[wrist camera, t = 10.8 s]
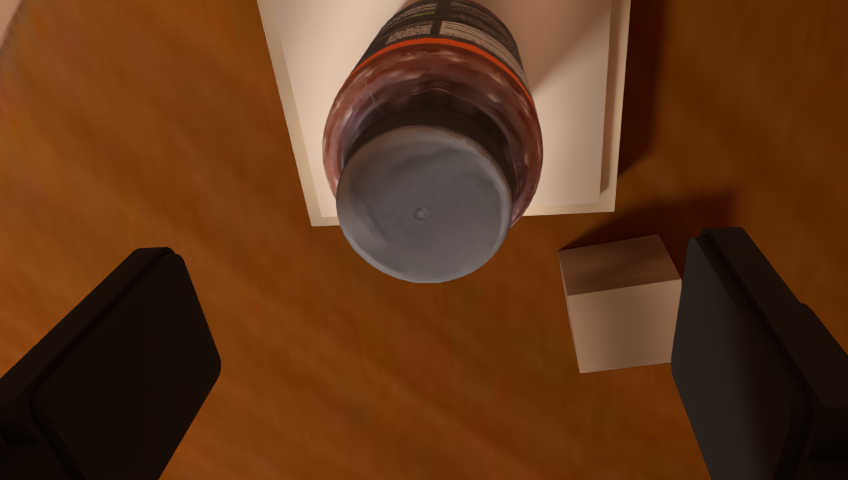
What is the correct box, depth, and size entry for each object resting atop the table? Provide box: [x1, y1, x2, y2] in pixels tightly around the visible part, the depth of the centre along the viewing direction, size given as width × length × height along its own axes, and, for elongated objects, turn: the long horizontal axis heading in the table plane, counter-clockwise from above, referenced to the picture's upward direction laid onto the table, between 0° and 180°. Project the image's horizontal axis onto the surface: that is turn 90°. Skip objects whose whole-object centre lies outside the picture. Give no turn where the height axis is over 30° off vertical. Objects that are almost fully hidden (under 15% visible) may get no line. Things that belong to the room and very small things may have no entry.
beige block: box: [558, 234, 682, 373], centre depth 29 cm, size 5×5×4 cm
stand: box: [257, 0, 631, 226], centre depth 23 cm, size 14×14×3 cm
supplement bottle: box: [322, 0, 543, 283], centre depth 17 cm, size 6×6×11 cm
